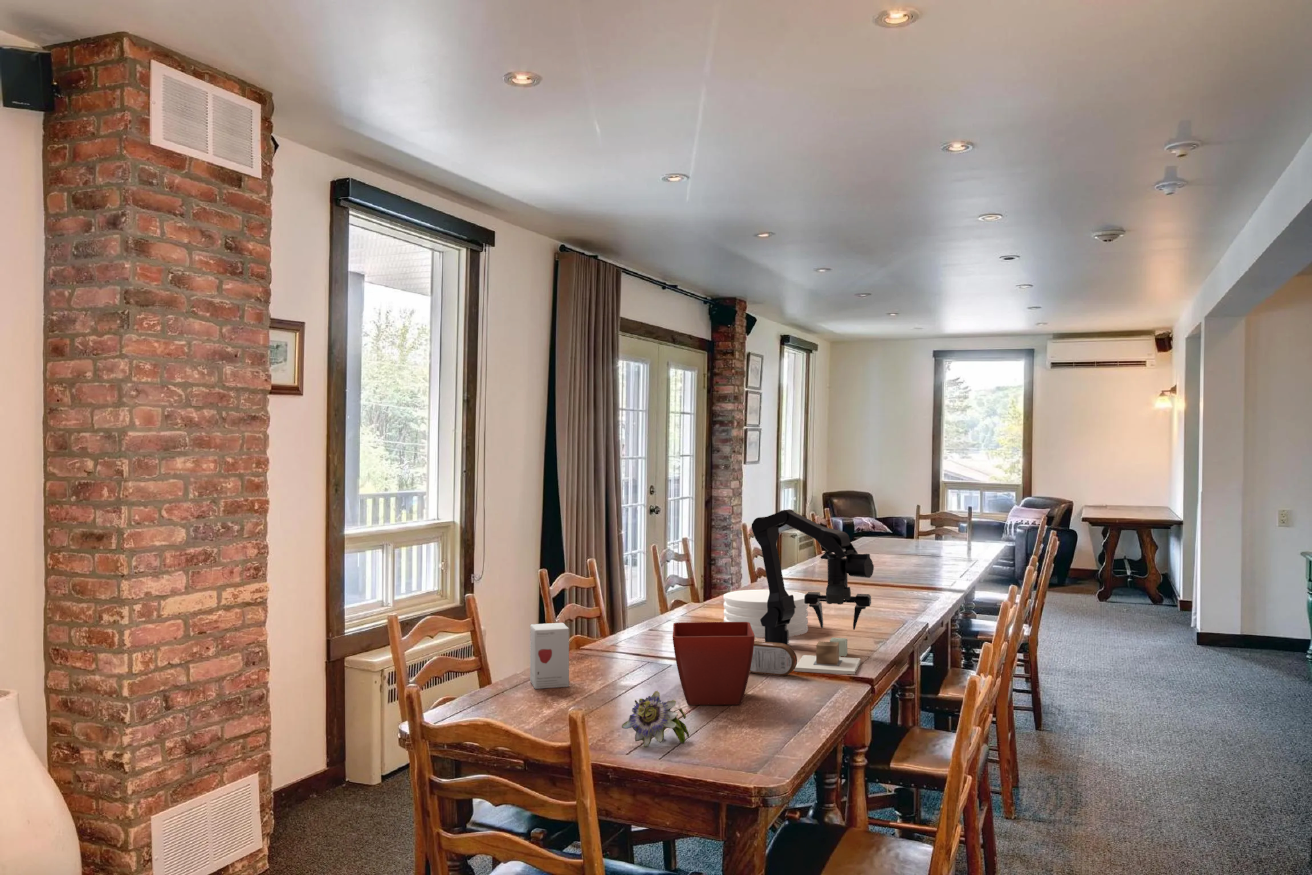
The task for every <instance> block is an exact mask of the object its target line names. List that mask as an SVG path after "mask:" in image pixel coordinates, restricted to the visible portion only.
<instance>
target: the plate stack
mask: <svg viewBox="0 0 1312 875" xmlns="http://www.w3.org/2000/svg"><path fill="white" fill-rule="evenodd" d="M785 591H786V592H787V594H788V595H789V596H790V595H793V597H794V604H795V606H796V608H794V609H795V613H794V615H793V617H792V618H791V620H790V623H789V624H786V625H787V629H788V630H789V637H794V635H796V636H800V634H801V635H804V634H806V633H807V632H809V626H808V623H809V619H808V618H809V617H808V616H809V611H808V608H809V604H805V603H804V597H805V595H806V594H807V593H804V592H799V591H793V590H786V589H785ZM768 597H769V588H768V589H767V588H765V589H763V588H762V589H744V590H743V589H741V590H735V591H730V592H729V591H728V592H726V593H724V594H723V616H724V617H723V622H749V623H750V625H751V628H752V630H753V633H754V635H755V638H765V626H762V624H761V621H760V619H761V618H762V617H763V616H764V615H765V614H766V613H767V601H768Z"/></svg>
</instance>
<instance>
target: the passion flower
mask: <svg viewBox="0 0 1312 875" xmlns="http://www.w3.org/2000/svg"><path fill="white" fill-rule="evenodd" d="M638 701H639V702H638ZM638 701H637V700H636V699H635V700H634V704H635V705H633V707H632V708H631V712H632V714H630V715H629V716H628V717H629V718H628V720H627V721H625V722H624V723H622V724H621V728H622V729H631V728H632V730H634V731H635V736H634V740H635V742H641V741H643V742H642V743H643V744H642V745H643V748H648V747H649V746H650V744H651V742H652V738H654V739H655V740H656V741H657V742H658V743H662V742H663V740H664V739H665V730H666V729H672V731H673V732H674V733H675V735H676V737H677V740H678V741H679V743H680V744H682V745H684V744H685V742H686V737H687V738H690V734H689V733H690V732H689V730H688V729H687V726H686V724H685V723H684V721H682V720H680V719H678V718H677V717H678V716H679V714H678V712H677V711H679V712H680V713H681V714H682V718H683V720H684V719H686V718H687V715H686V714H685V712H684V711H683V708H681V707H679V708H678V709H675V710H673V711H672V710H671V709H672V708H674V706H676V704H677V703H676V702H677V701H676V699H672V700H667V701H662V700H661V694H660V691H658V690H655V691H654V692H653V693H652V695H649V696H648V697H645V698H639V700H638ZM685 735H687V736H685Z"/></svg>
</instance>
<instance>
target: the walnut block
mask: <svg viewBox="0 0 1312 875" xmlns="http://www.w3.org/2000/svg"><path fill="white" fill-rule="evenodd" d="M815 649H816V650H815V652H816V653H815V656H816V664H831V665H837V663H838V662H839V657H840V656H839V642H830V641H820V640H819V641H818V642H817V643H816V645H815Z"/></svg>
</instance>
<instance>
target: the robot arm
mask: <svg viewBox="0 0 1312 875" xmlns="http://www.w3.org/2000/svg"><path fill="white" fill-rule="evenodd" d="M784 526H789V527H791V528H794V529H795V530H797V531H798V532H801V533H803V534H804V535H807V536H808V537H810V538H813V540H816V541H817V543H818V544H819V545H820V546H821V547H822V548H824V549H825V552H824V553H823V554H822V555H821V556H820V559H821V560H827V586H826V590H825V595H823V594H821V591H808V592H807V593H805V594H806V595H805V597H804V603H805V604H808V608H809V607H810V608H812V610H814V612H815V614H816V616H817V619H818V623H819V624H820V628H821V629H823V628H824V617H823V605H822V602H826V604H828V605H833V604H836V605H843V604H845V603H847V604H848V603H850V604H855V607H854V614H853V620H852V622H853V623H852V629H853V631H854V630H856V627H857V624H858V620H859V618H860V615H861V613H862V610H866V608H868V607H870V606H871V605H872V596H871V594H869V593H857V594H856V595H855V596H851V595H852V594H851V593H852V591H851V587H850V586H849V585H848V582H849V581H848V576H850V577H854V578H855V577H856V578H867V579H870V578H872V576H873V574H874V570H875V568H874V567H875V564H874V563H873V560H872V558H871V554H870V553H858V551H857V550H856V548H855V547H854V545H853V543H852V542H851V539H850V536H849V534H848V533H847V532H846V531H841V530H838V529H834V528H829V527H826V526H824V525H823V526H822V525H820V524H819V523H817V522H814V521H813V520H811V519H809V518H806V517H805V516H803V515H801V514H799V513H797V512H795V511H794V510H792V509H782V510H781V509H780V511H778V512H776V513H773V514H770V515H767V516H759V517H756V518H755V519H754V520H753V521H752V523H751V531H752V533H753V536H754V539H755V540H756V542H757V544H758V545H759V546H760V550H761V555H762V560H763V565H764V570H765V576H766V580H767V586H768V589H769V597H768V601H767V613H766V614H765V615H764V616H763V617H762V618H761V619H760V621H761V624H762V626H765V637H764V642H772V643H783V644H786V645H788V644H789V641H790V640H789V638H790V636H789V630H788V629H787V625H786V624H789V623H790V620H791V618H792V617H793V615H794V613H795V609H794V608H796V606H795V604H794V597H793V595H790V596H789V595H788V594H787V592H786V591H785V590H786V587H785V582H784V577H783V576H784V575H783V571H782V566H781V561H780V557H779V550H778V545H777V543H778V540H779V536H780V531H779V529H781V528H783V527H784Z"/></svg>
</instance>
